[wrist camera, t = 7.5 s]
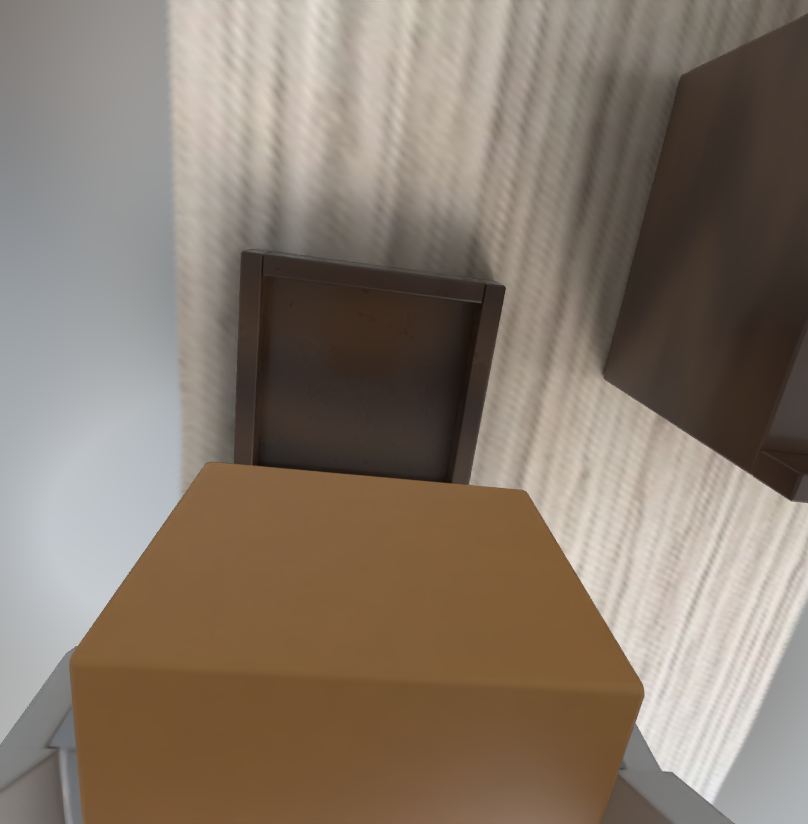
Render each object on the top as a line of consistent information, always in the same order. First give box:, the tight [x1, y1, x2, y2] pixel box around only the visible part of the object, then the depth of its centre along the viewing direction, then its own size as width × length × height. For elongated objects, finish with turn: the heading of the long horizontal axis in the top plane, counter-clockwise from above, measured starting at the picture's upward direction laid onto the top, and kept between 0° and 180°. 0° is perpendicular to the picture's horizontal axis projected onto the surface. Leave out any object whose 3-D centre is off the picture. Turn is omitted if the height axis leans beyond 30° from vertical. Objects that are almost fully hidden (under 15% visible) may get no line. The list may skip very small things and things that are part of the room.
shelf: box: [234, 249, 506, 485], centre depth 24 cm, size 20×10×2 cm, turn 173°
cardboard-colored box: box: [69, 462, 644, 824], centre depth 7 cm, size 7×5×4 cm
